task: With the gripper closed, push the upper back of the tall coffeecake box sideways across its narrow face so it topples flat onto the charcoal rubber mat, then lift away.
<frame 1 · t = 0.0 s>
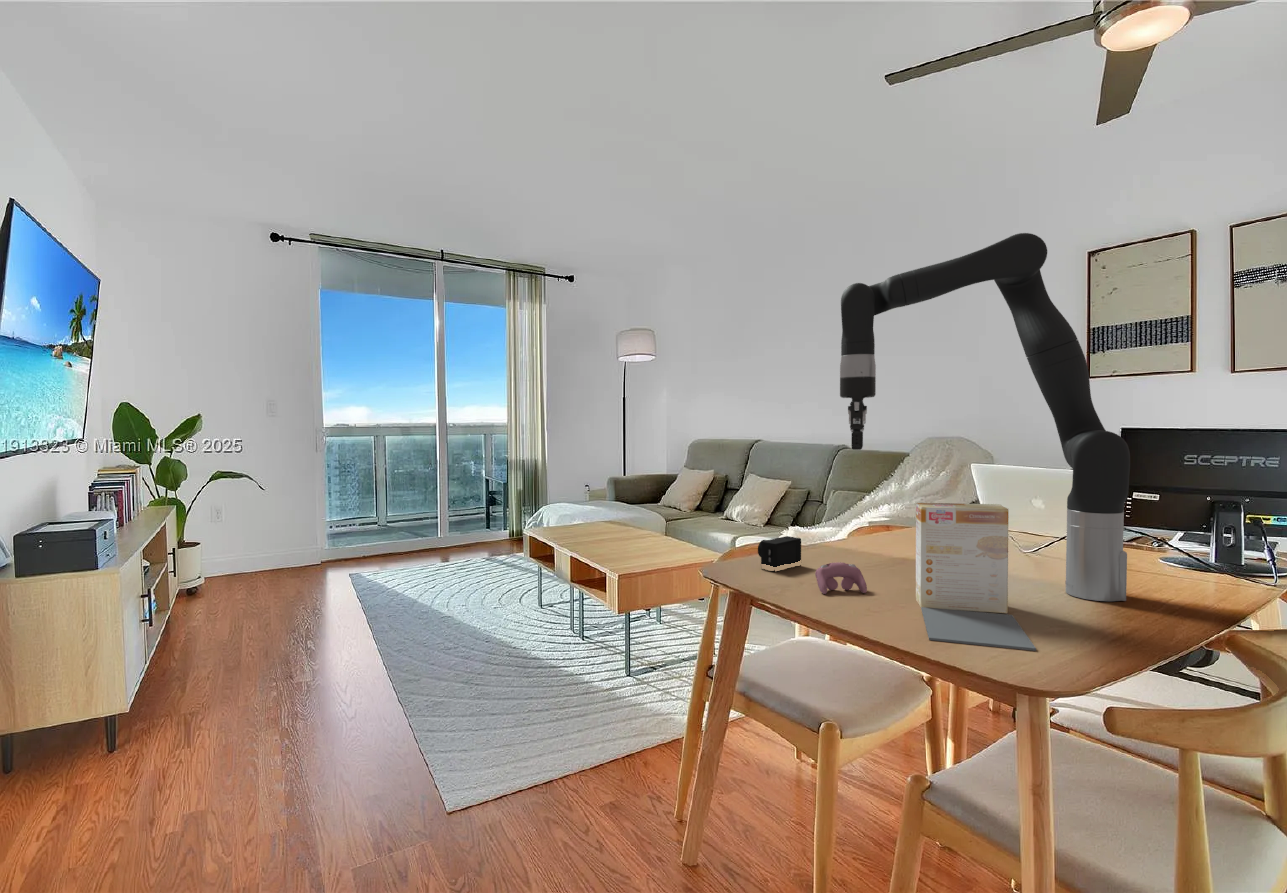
hand: (857, 448, 139), 29 cm above the table, fingers open, 8 cm apart
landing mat: (972, 627, 107), on the table
digital camera: (779, 568, 152), on the table
coffeecake box: (959, 607, 119), on the table
video game controller: (840, 592, 130), on the table
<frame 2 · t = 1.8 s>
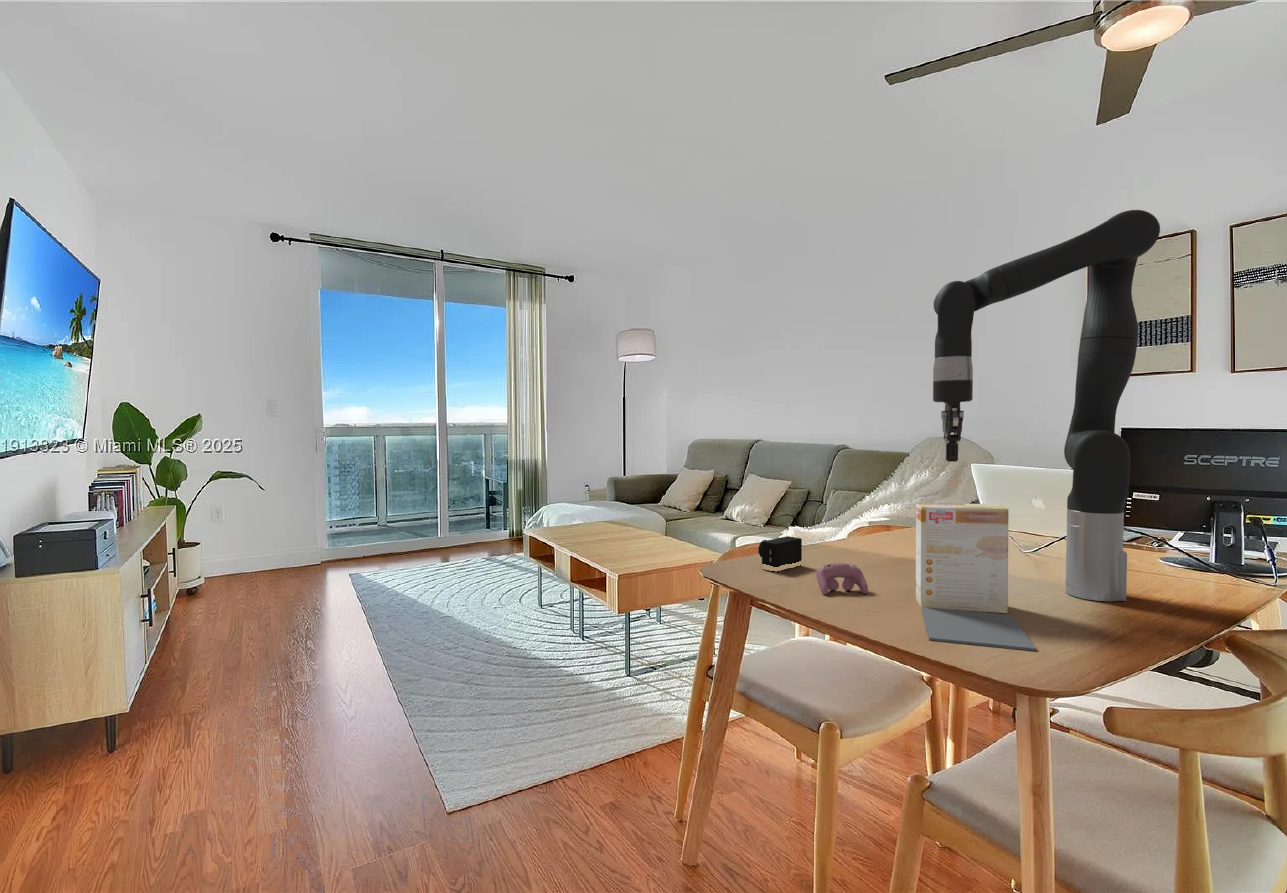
hand: (951, 461, 132), 27 cm above the table, fingers closed
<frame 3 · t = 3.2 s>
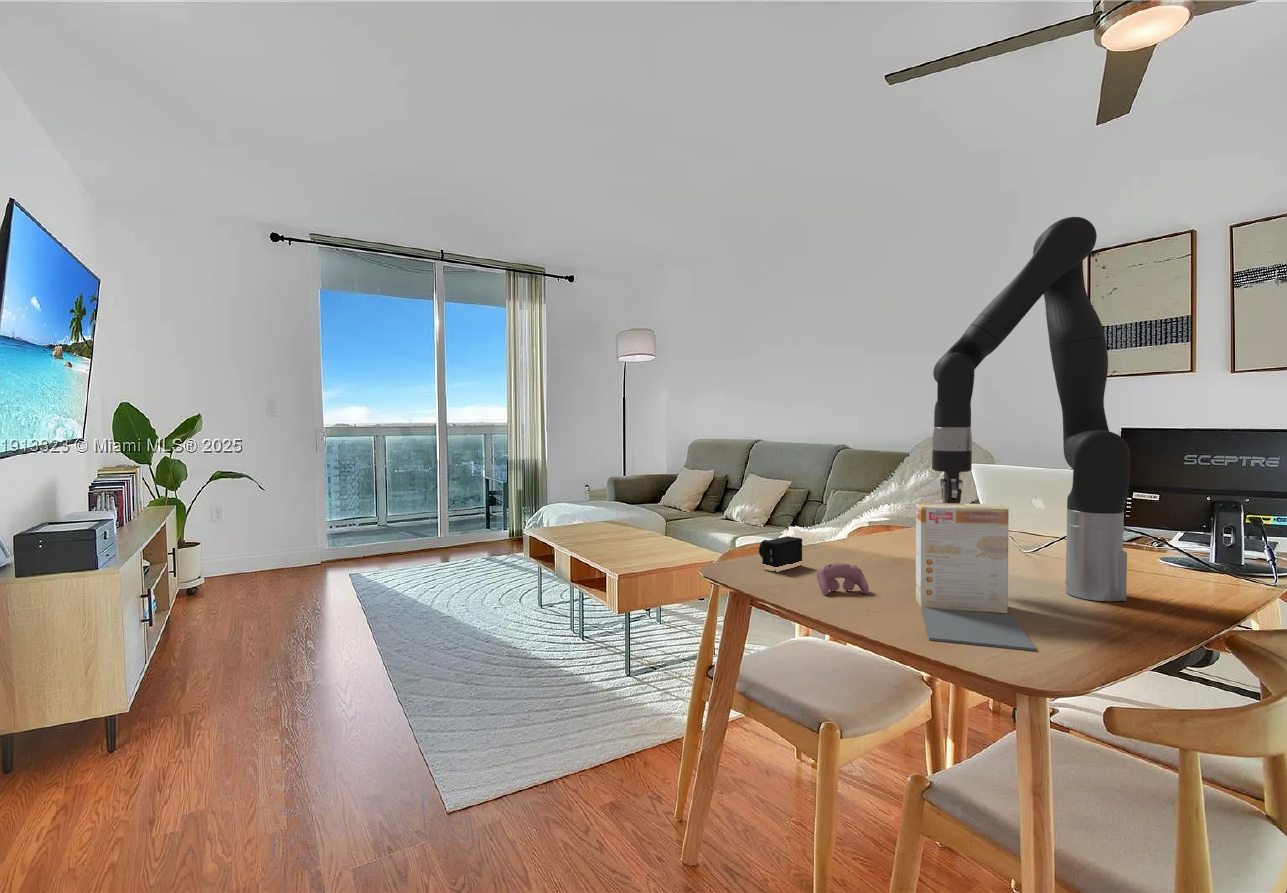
hand: (950, 529, 133), 12 cm above the table, fingers closed
nothing on the table moved.
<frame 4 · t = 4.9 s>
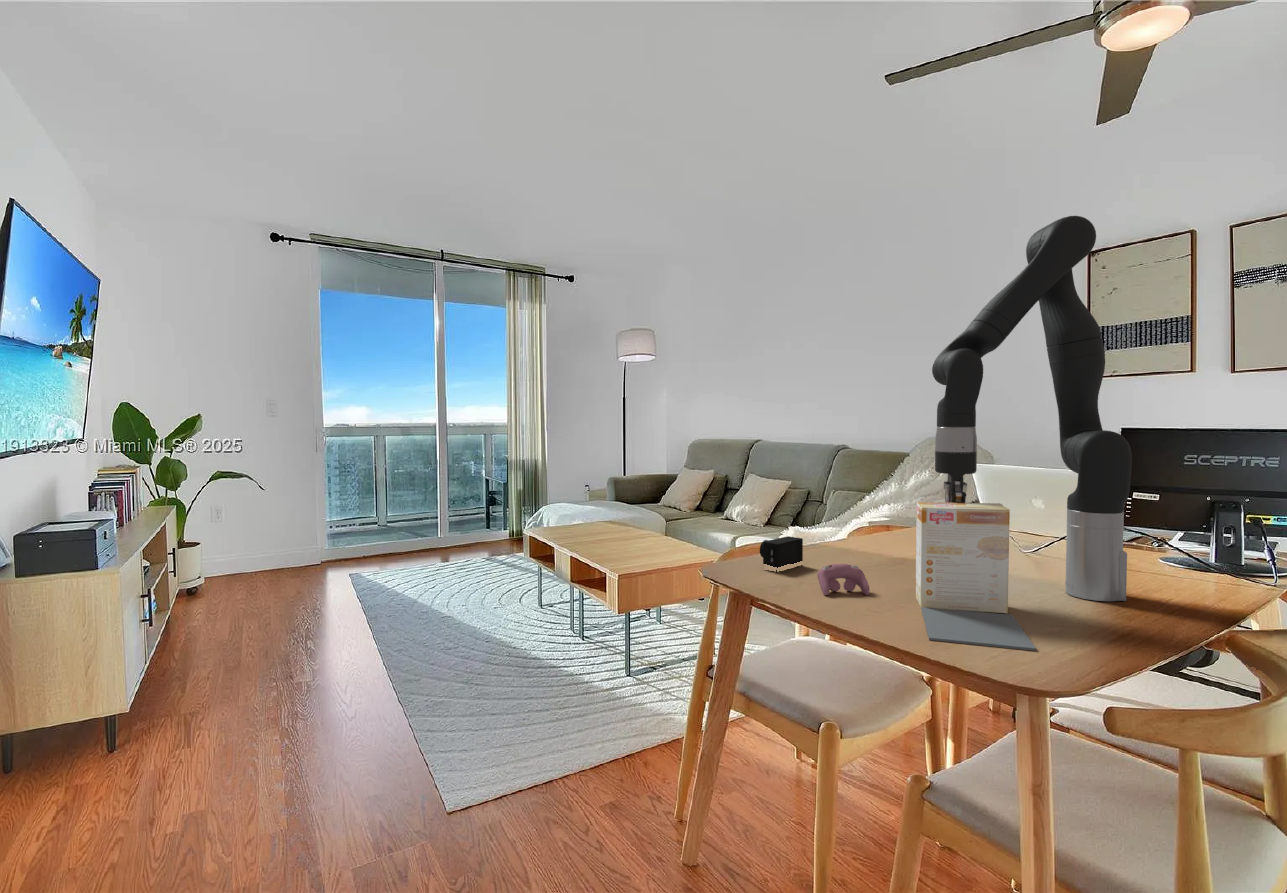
hand: (954, 534, 126), 12 cm above the table, fingers closed
coffeecake box: (959, 606, 119), on the table, touching hand
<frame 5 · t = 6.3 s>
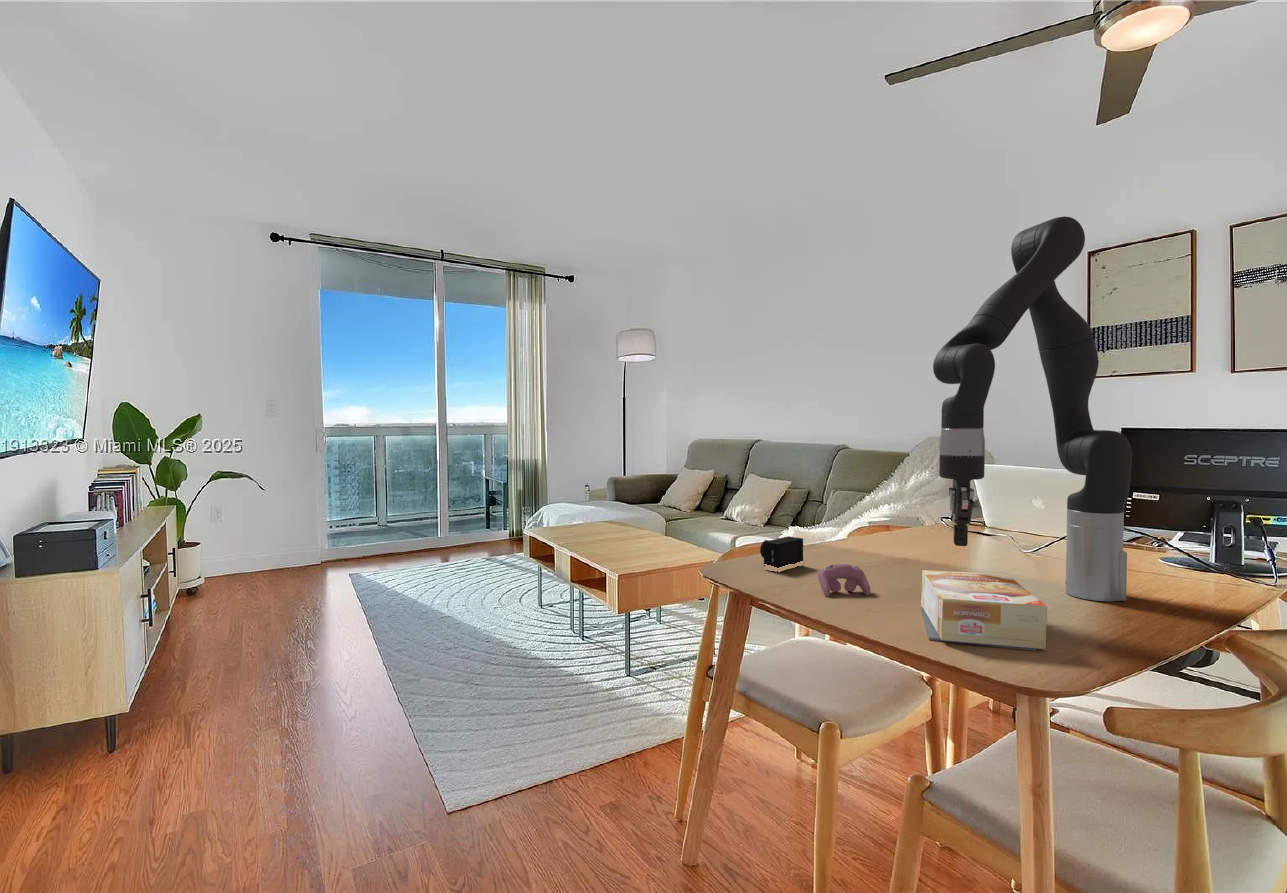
hand: (960, 545, 117), 12 cm above the table, fingers closed
coffeecake box: (963, 589, 116), point 4 cm above the table, touching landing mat
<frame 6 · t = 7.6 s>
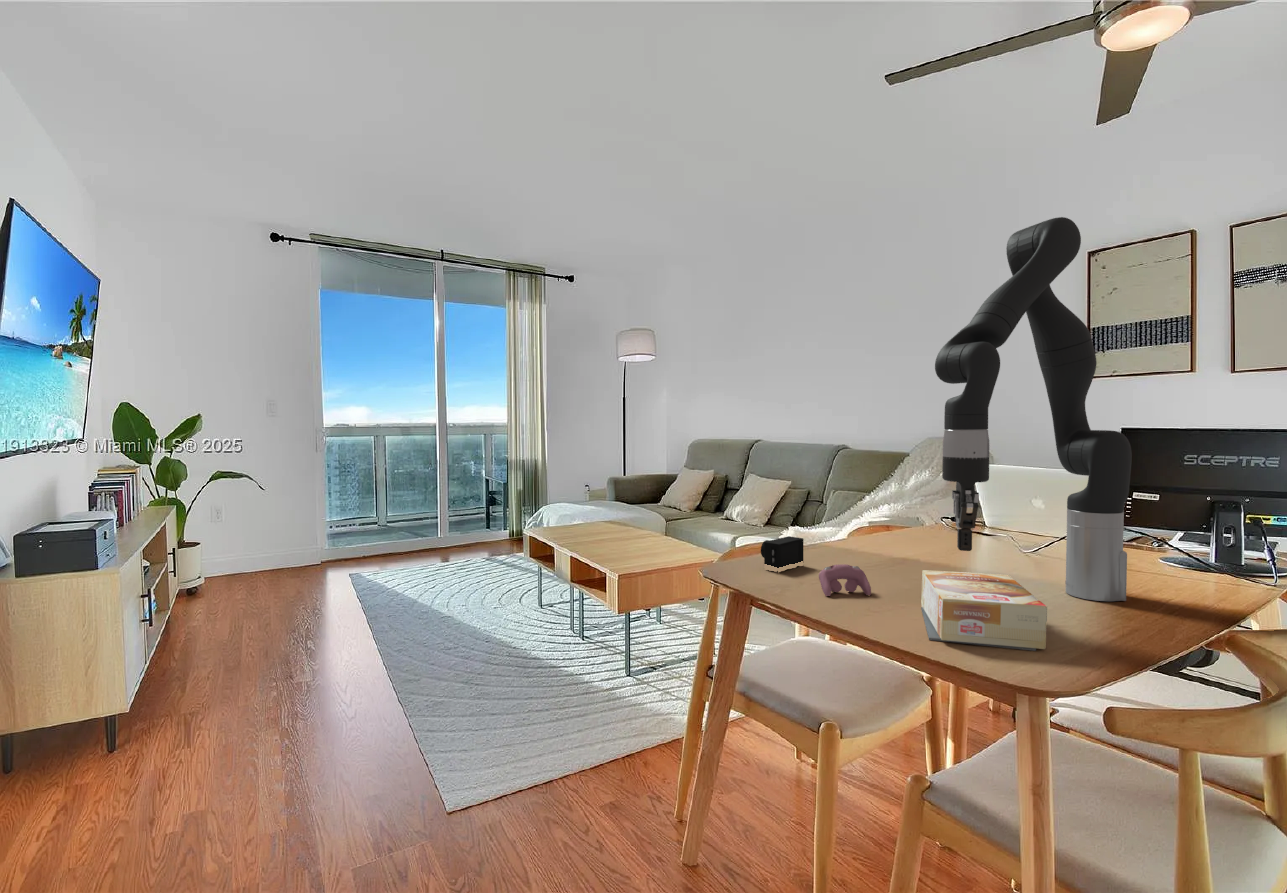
hand: (964, 549, 113), 12 cm above the table, fingers closed
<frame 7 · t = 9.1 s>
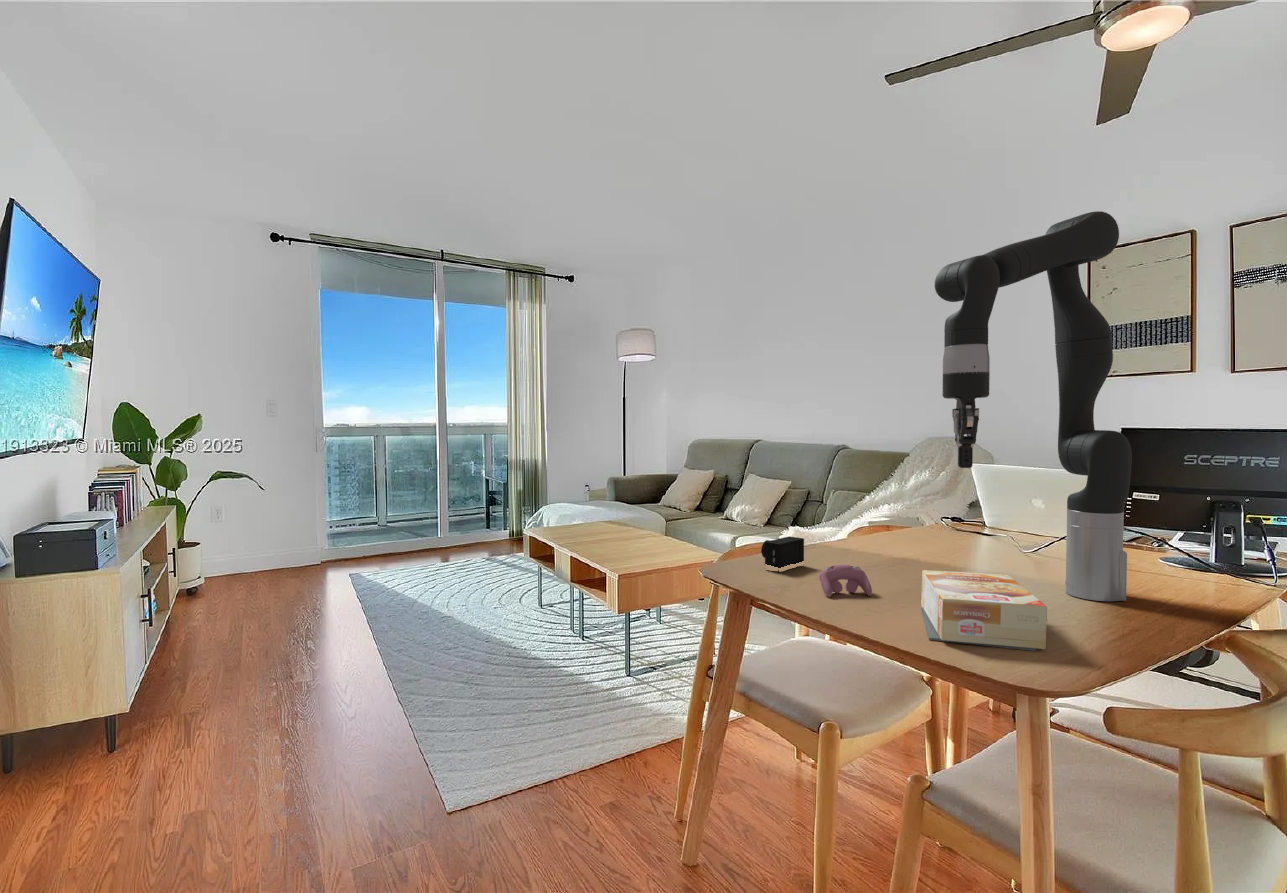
hand: (965, 467, 113), 27 cm above the table, fingers closed
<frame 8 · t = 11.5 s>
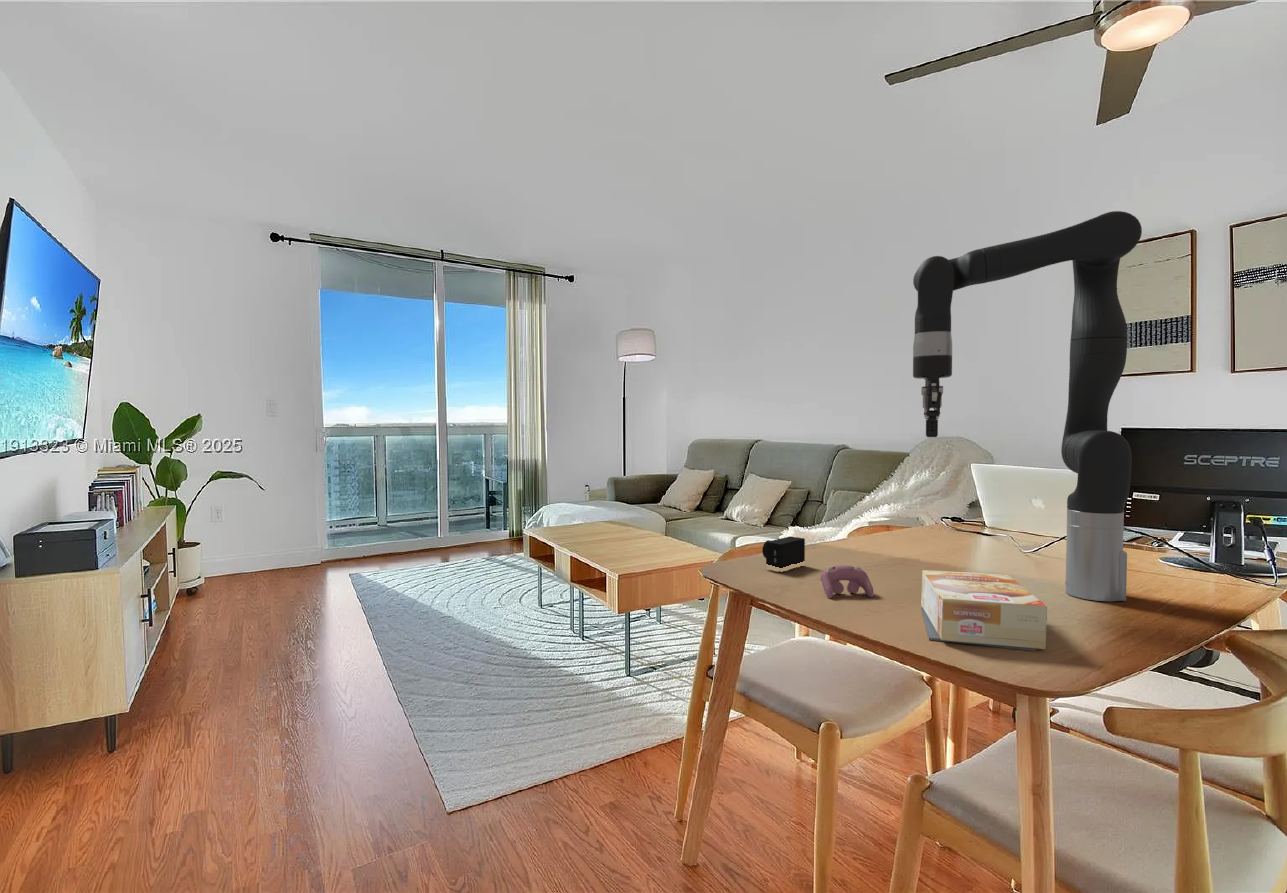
hand: (931, 436, 132), 32 cm above the table, fingers closed
at the end: coffeecake box tilted 91°; coffeecake box touching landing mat; the gripper is holding nothing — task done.
